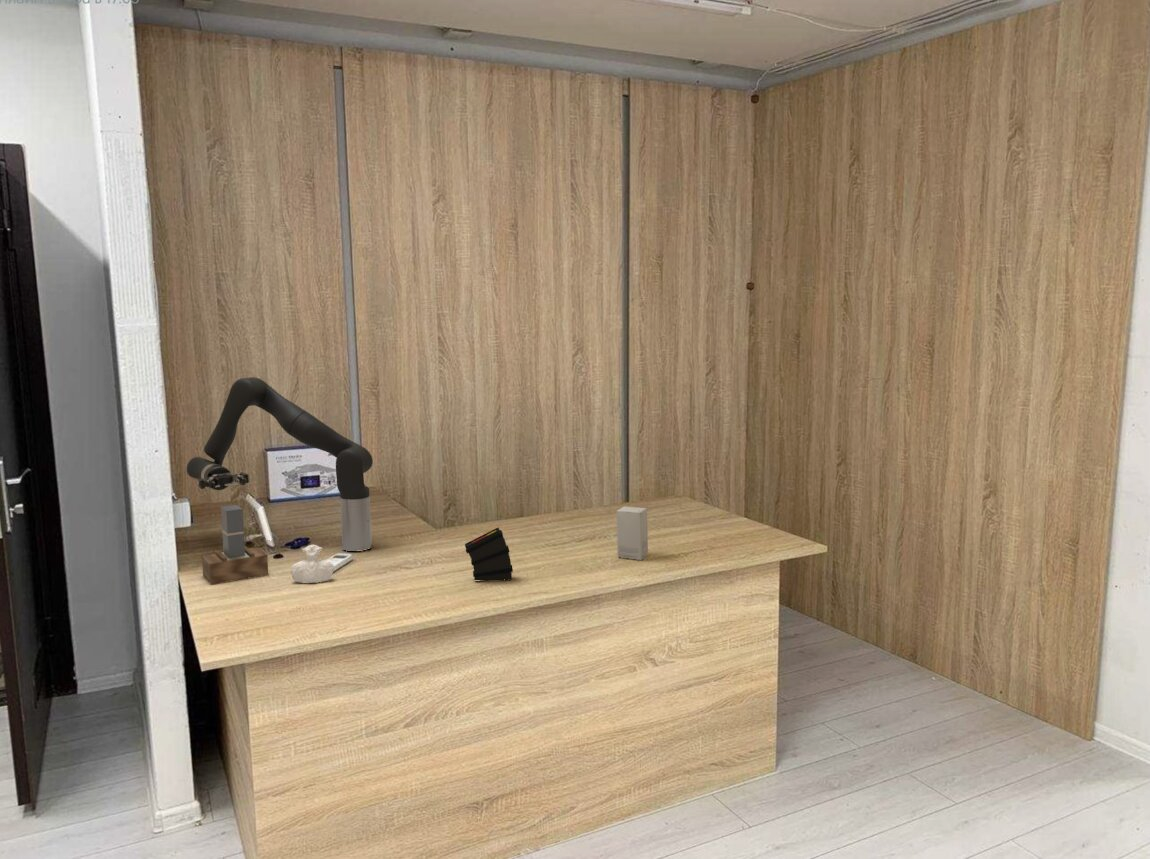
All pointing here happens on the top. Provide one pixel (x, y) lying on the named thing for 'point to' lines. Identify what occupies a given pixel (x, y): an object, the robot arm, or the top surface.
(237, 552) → the stacked grey cubes
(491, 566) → the magazine
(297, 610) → the top surface
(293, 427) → the robot arm
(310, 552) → the tied plastic bag
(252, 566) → the stand
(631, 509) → the skincare box
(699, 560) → the top surface
